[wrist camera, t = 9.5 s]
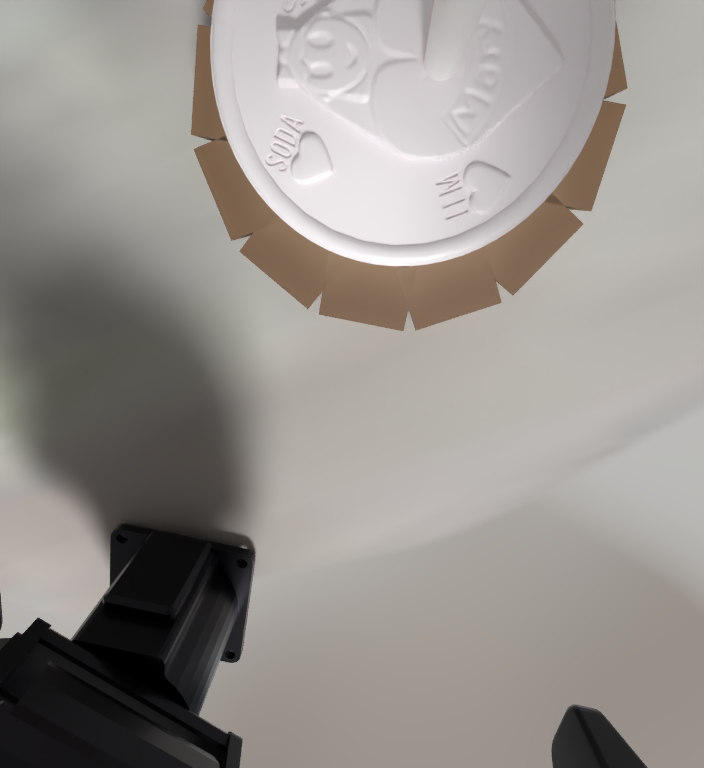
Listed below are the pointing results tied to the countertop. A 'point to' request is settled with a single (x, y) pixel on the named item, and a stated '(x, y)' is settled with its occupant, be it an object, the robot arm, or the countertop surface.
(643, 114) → the countertop surface
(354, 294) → the walnut ring
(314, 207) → the smoothie
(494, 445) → the countertop surface
